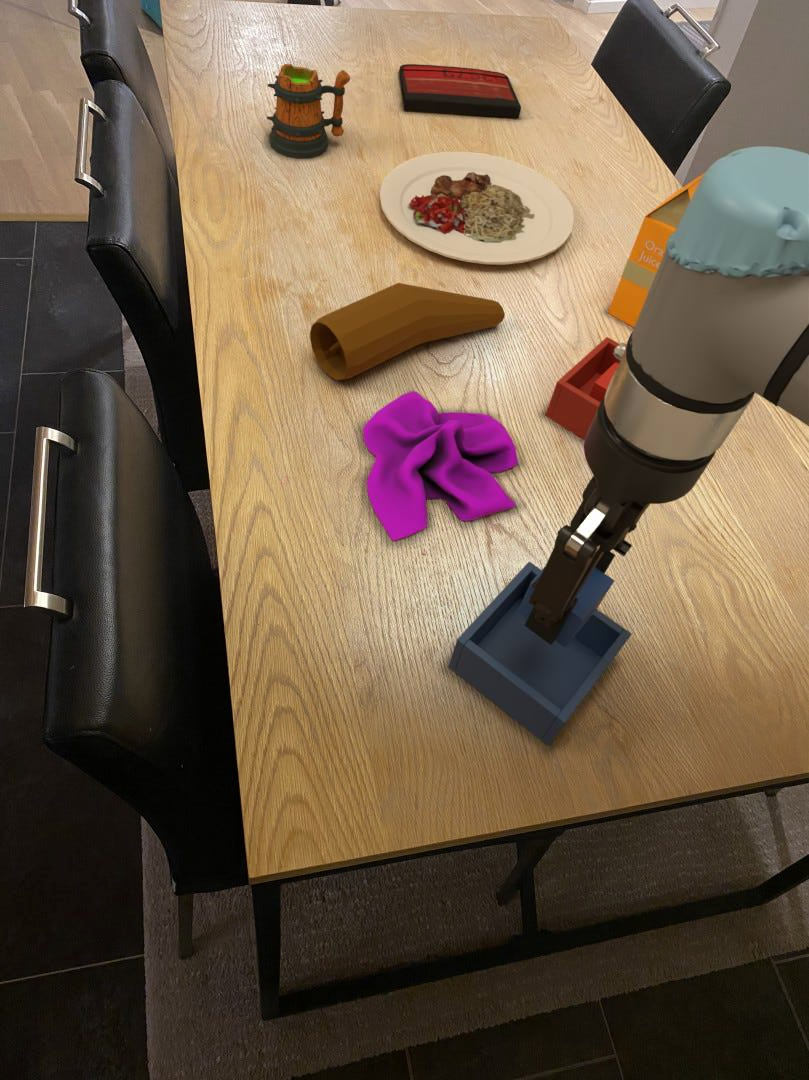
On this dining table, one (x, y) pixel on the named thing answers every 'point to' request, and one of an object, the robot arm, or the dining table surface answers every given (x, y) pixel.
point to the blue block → (583, 608)
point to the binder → (457, 91)
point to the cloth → (434, 463)
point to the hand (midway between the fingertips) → (558, 610)
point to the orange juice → (649, 254)
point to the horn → (395, 326)
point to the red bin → (581, 390)
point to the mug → (304, 112)
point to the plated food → (476, 207)
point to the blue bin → (533, 661)
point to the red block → (603, 383)
